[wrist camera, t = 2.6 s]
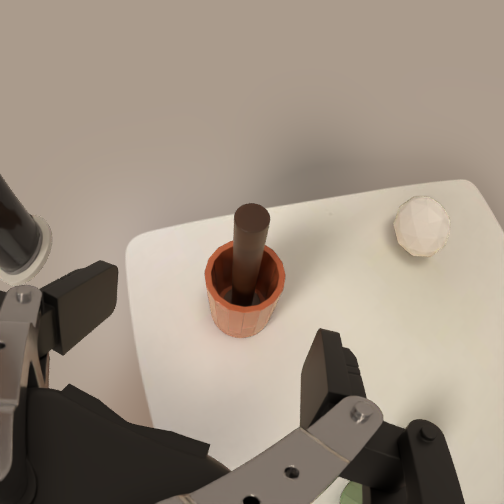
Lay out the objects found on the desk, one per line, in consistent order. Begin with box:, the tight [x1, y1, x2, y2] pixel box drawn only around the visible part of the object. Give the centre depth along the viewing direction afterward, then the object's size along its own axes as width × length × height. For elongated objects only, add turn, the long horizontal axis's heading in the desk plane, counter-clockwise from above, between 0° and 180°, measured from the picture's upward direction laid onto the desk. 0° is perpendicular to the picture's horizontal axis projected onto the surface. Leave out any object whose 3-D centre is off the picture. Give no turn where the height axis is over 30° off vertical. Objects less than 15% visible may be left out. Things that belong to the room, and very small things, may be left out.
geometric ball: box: [393, 196, 450, 257], centre depth 34 cm, size 8×8×8 cm
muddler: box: [223, 203, 270, 307], centre depth 24 cm, size 4×4×16 cm
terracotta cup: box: [205, 241, 285, 338], centre depth 27 cm, size 6×6×9 cm
